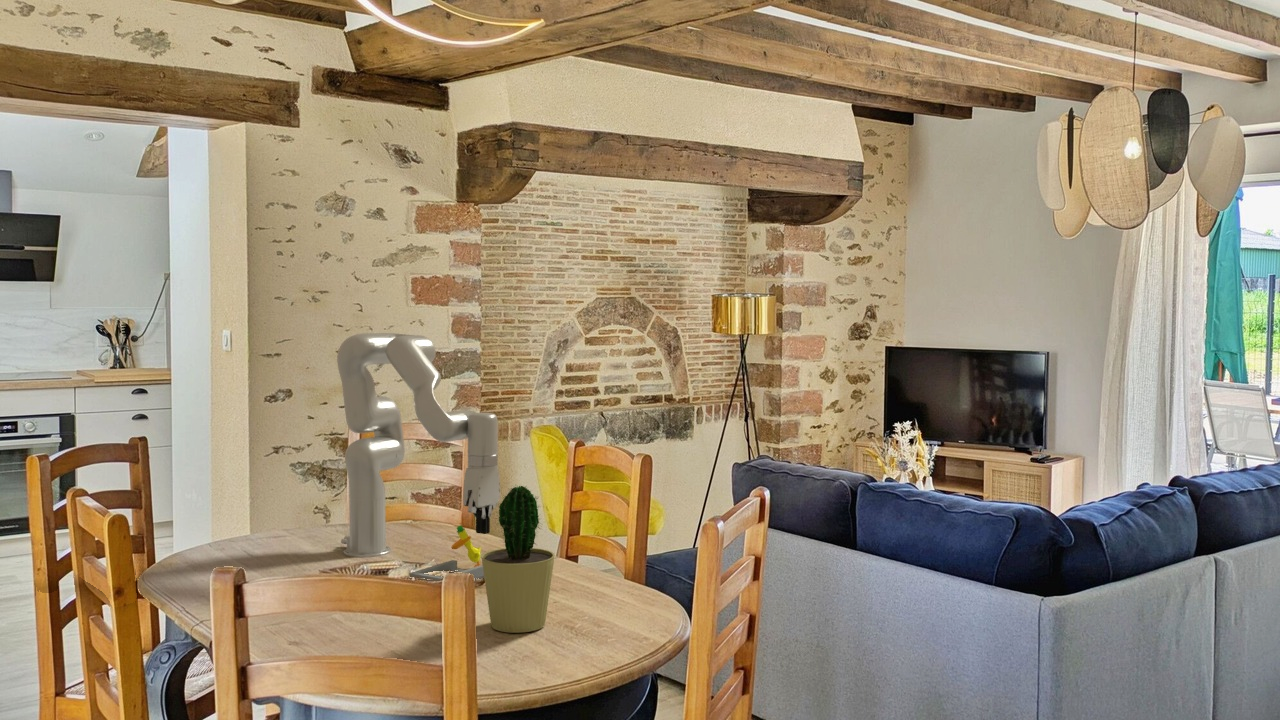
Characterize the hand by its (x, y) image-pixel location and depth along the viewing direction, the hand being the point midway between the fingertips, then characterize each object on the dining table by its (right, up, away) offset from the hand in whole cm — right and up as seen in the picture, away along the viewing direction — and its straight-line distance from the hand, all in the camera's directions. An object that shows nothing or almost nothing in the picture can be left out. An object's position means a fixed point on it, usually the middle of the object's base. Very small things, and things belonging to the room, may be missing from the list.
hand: (482, 532), depth 269 cm
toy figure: (-1, -9, +1) cm, 9 cm away
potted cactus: (+14, -12, -47) cm, 50 cm away
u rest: (-7, -10, -11) cm, 16 cm away
